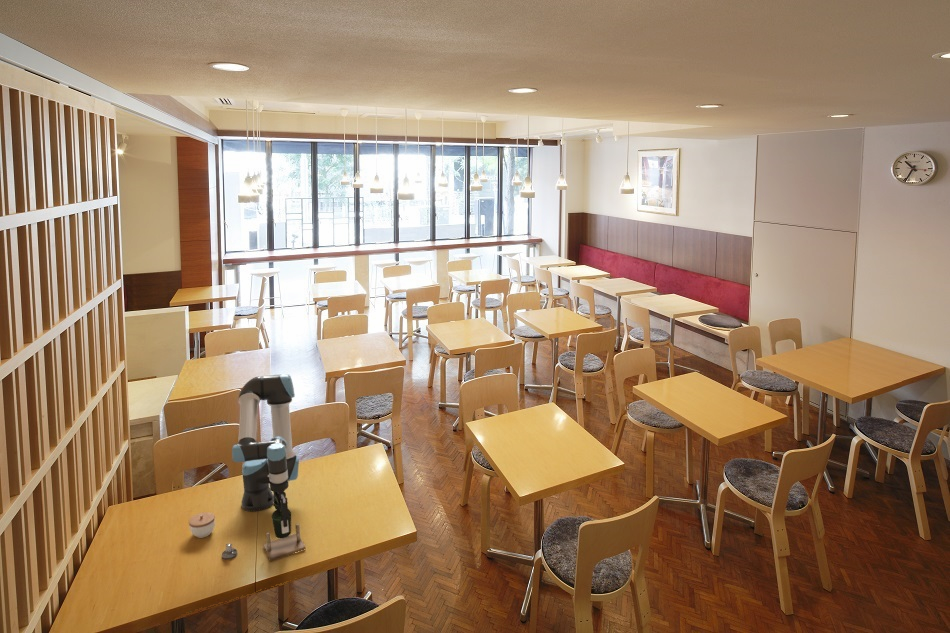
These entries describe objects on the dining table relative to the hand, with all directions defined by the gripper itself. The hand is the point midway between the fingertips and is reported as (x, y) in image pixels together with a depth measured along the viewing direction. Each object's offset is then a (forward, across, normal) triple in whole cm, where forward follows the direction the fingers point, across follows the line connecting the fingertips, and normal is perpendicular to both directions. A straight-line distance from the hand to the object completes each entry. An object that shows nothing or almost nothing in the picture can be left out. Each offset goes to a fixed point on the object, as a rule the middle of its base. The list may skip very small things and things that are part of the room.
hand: (282, 527), depth 252 cm
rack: (+10, 0, 0) cm, 10 cm away
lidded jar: (+11, -31, -28) cm, 43 cm away
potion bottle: (+3, 0, 0) cm, 3 cm away
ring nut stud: (+10, -8, -21) cm, 25 cm away
